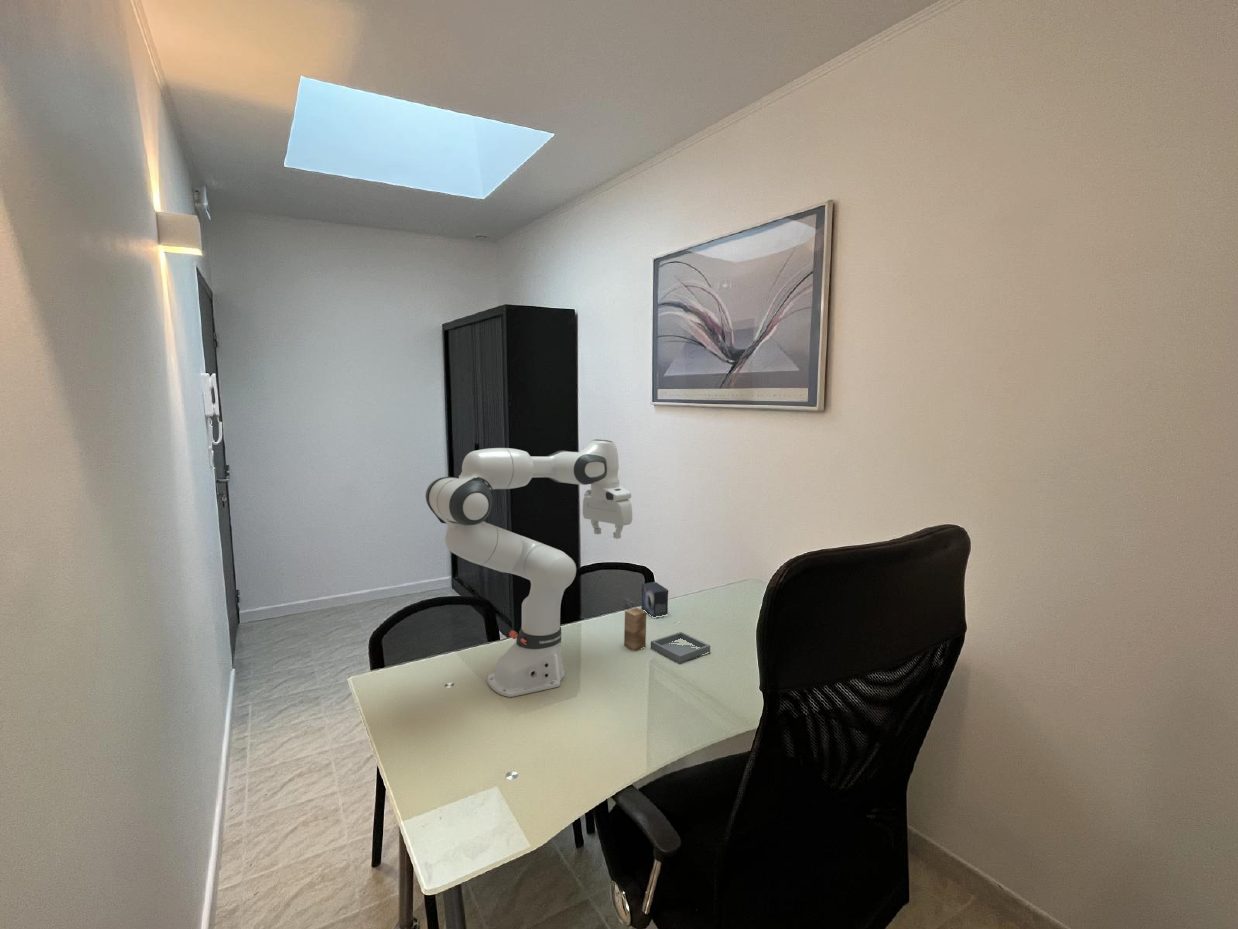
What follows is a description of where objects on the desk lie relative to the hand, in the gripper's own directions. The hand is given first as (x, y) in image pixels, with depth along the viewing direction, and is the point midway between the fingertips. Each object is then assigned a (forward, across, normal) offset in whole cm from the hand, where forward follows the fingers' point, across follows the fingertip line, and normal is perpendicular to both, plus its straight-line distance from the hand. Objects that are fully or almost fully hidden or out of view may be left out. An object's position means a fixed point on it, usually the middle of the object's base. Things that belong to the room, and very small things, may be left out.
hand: (607, 536), depth 185 cm
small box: (+39, -18, +36) cm, 56 cm away
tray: (+40, +11, +20) cm, 46 cm away
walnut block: (+39, -1, +10) cm, 40 cm away
